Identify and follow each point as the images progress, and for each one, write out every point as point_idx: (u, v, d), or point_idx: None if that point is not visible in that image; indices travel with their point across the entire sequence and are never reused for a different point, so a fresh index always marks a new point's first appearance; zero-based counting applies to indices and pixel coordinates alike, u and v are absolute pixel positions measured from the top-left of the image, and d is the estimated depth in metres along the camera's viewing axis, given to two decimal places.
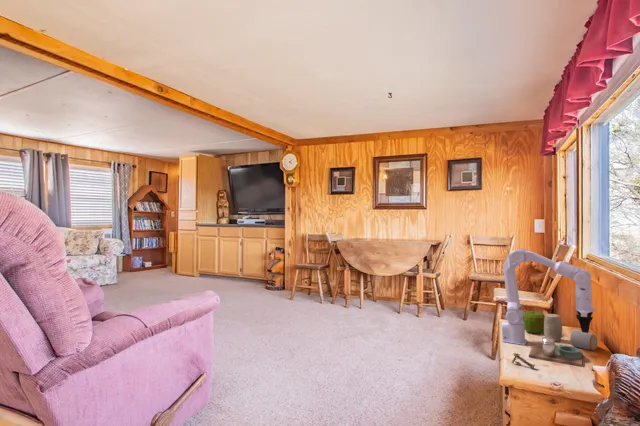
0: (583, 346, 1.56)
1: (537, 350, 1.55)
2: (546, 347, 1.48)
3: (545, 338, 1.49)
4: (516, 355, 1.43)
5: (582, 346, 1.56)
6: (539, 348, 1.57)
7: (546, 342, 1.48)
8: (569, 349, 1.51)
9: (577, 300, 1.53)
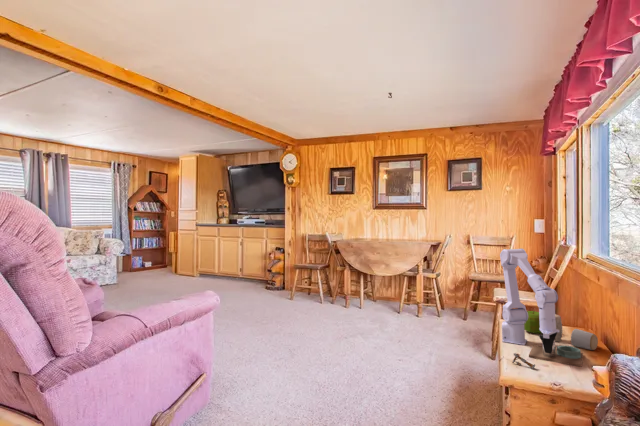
0: (583, 346, 1.56)
1: (537, 350, 1.55)
2: None
3: None
4: (516, 355, 1.43)
5: (582, 346, 1.56)
6: (539, 348, 1.57)
7: None
8: (569, 349, 1.51)
9: (540, 320, 1.49)
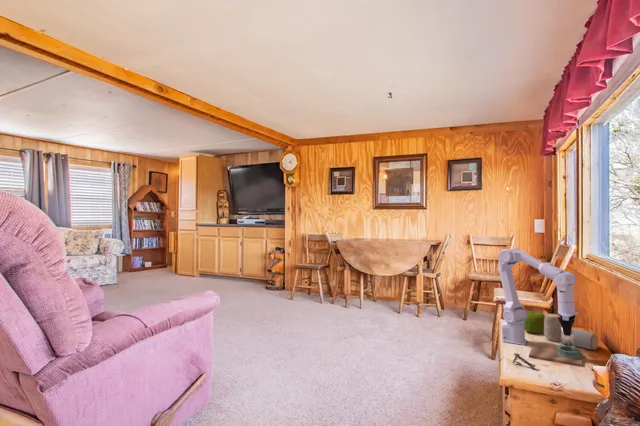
0: (584, 346, 1.56)
1: (537, 350, 1.55)
2: (565, 336, 1.48)
3: None
4: (517, 355, 1.43)
5: (583, 346, 1.57)
6: (539, 348, 1.57)
7: None
8: (569, 349, 1.51)
9: (559, 303, 1.49)
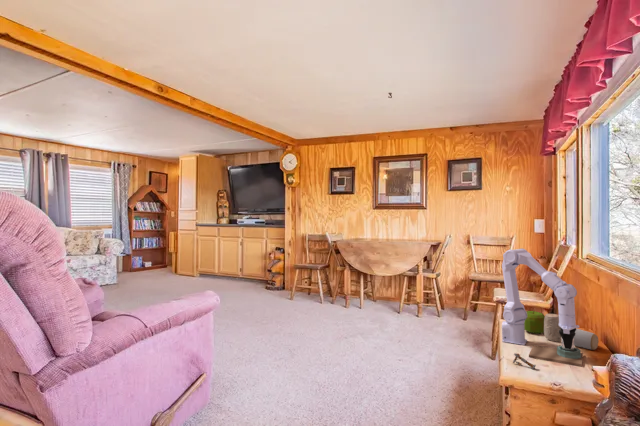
0: (584, 346, 1.56)
1: (537, 350, 1.55)
2: None
3: None
4: (517, 355, 1.43)
5: (583, 346, 1.57)
6: (539, 348, 1.57)
7: None
8: None
9: (560, 316, 1.49)
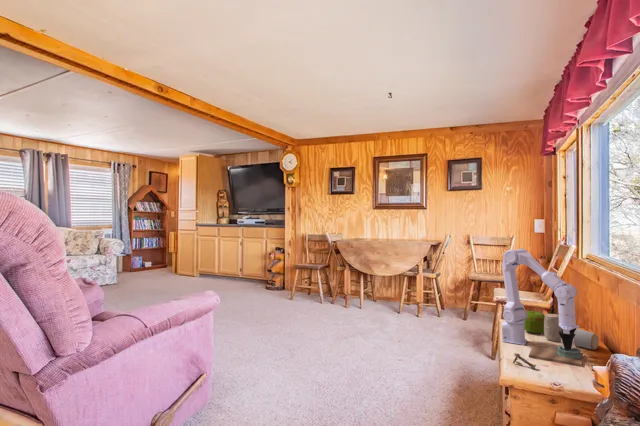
0: (584, 345, 1.57)
1: (537, 350, 1.55)
2: None
3: None
4: (517, 355, 1.43)
5: (583, 345, 1.57)
6: (539, 348, 1.57)
7: None
8: None
9: (560, 316, 1.49)
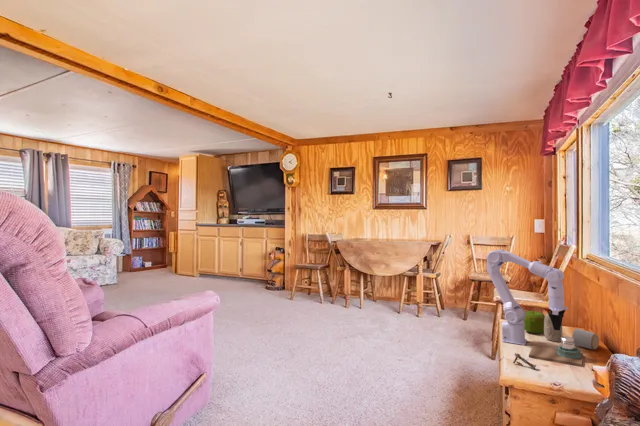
0: (585, 345, 1.57)
1: (537, 350, 1.55)
2: (566, 346, 1.47)
3: (564, 337, 1.49)
4: (517, 355, 1.43)
5: (584, 345, 1.57)
6: (539, 348, 1.57)
7: (566, 341, 1.47)
8: None
9: (550, 299, 1.57)
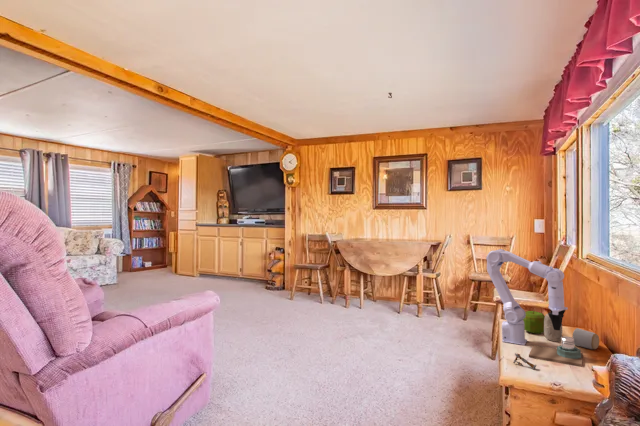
0: (585, 345, 1.57)
1: (537, 350, 1.55)
2: (566, 346, 1.47)
3: (564, 337, 1.49)
4: (517, 355, 1.43)
5: (584, 345, 1.57)
6: (539, 348, 1.57)
7: (566, 341, 1.47)
8: None
9: (550, 299, 1.57)
